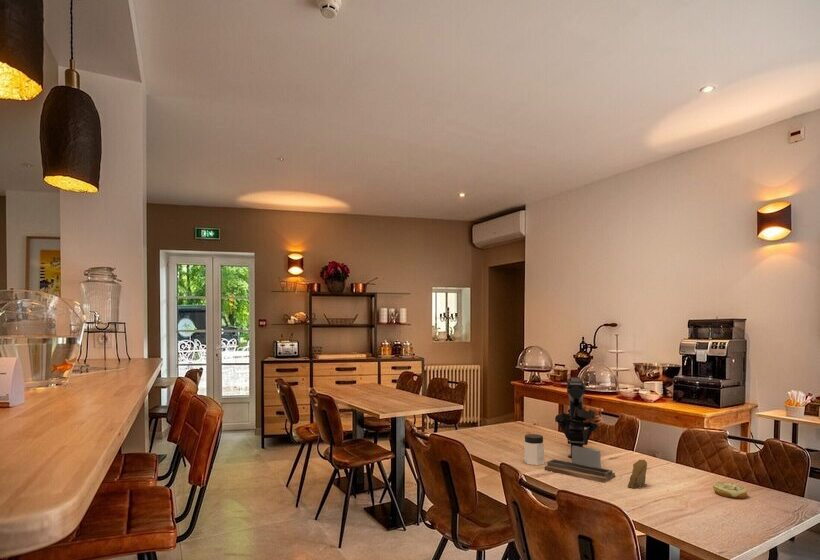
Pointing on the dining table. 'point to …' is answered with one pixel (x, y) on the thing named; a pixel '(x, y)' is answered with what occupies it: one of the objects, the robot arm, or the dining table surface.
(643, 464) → the rock
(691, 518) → the dining table surface
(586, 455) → the door panel
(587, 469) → the track board
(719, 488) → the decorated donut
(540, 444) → the jar
